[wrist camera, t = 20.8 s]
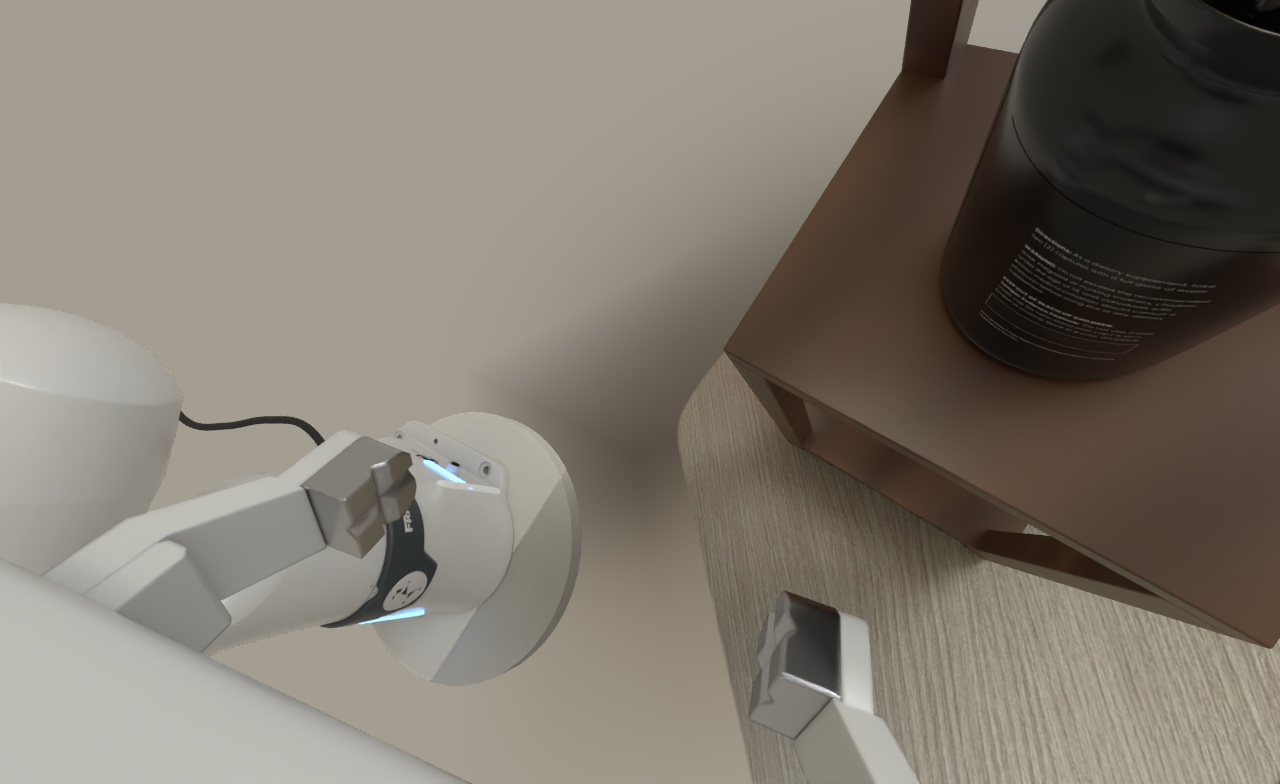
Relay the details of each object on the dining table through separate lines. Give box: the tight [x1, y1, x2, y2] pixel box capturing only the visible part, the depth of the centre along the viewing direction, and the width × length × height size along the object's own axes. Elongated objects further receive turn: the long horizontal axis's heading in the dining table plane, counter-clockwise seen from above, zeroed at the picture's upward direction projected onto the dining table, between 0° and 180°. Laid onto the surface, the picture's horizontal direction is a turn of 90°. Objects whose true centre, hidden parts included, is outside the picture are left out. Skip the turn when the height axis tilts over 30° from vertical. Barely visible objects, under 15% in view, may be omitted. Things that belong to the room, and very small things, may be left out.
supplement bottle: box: [941, 0, 1280, 379], centre depth 10 cm, size 7×7×12 cm
